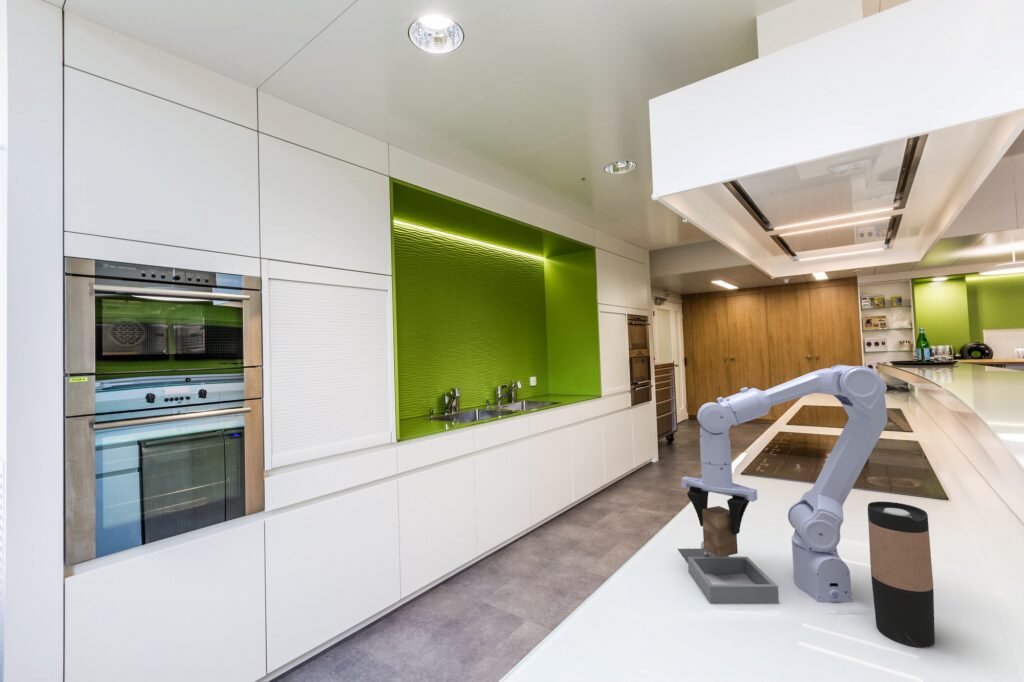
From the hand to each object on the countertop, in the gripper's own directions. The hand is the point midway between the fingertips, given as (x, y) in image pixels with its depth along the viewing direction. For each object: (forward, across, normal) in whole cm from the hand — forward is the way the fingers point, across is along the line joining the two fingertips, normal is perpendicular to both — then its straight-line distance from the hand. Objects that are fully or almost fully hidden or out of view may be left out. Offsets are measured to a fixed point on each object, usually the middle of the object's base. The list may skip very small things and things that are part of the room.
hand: (719, 529), depth 91 cm
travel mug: (+11, -28, -3) cm, 30 cm away
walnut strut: (+4, 0, 0) cm, 4 cm away
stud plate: (+10, +6, -6) cm, 13 cm away
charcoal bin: (+10, -3, +3) cm, 11 cm away
